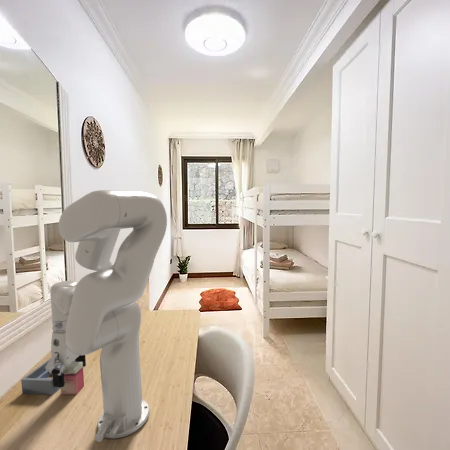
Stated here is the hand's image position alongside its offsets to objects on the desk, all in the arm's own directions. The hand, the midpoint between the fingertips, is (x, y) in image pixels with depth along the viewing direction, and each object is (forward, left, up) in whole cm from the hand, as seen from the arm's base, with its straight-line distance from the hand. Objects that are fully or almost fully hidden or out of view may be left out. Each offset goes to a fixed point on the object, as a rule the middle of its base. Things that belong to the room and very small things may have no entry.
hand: (70, 375), depth 82 cm
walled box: (+5, +9, -4) cm, 11 cm away
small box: (0, -1, -5) cm, 5 cm away
